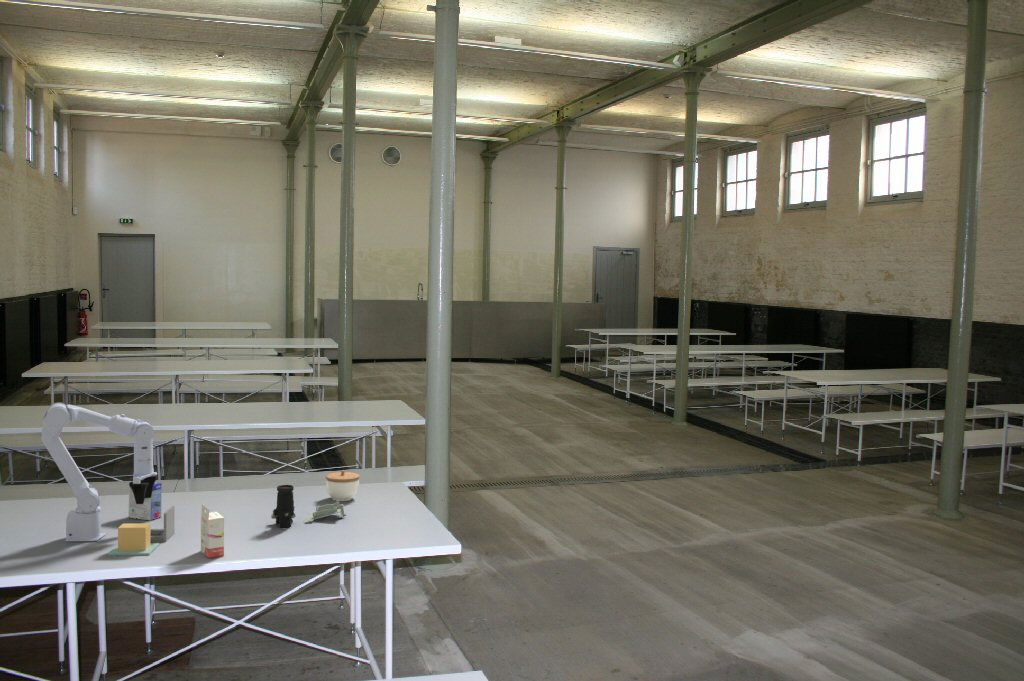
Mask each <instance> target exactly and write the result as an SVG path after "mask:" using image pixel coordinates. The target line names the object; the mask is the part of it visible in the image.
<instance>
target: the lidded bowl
mask: <svg viewBox="0 0 1024 681" xmlns="http://www.w3.org/2000/svg"><path fill="white" fill-rule="evenodd" d="M325 480H326V482H325V483H326V484H325V486H326V490H327V493H328V495H329V496H330V497H331V498H332V500H333V501H335V502H337V501H339V502H348V501H351V500H352V498H354V497H355V496H356V494H357V493H358V491H359V485H360V474H358V473H356V472H351V471H350V472H349V471H345V470H344V469H343V470H341V471H340V472H339V471H338V472H337V471H336V472H332V473H327V475H325Z"/></svg>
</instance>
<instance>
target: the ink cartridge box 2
mask: <svg viewBox="0 0 1024 681" xmlns="http://www.w3.org/2000/svg"><path fill="white" fill-rule="evenodd" d="M200 512H201V513H200V552H201V553H202V554H203V553H204V554H203V555H204V556H205V557H207V558H208V559H211V558H212V559H213V558H219V557H224V556H225V517H224V516H223V515H221V514H220V513H219V512H218V511H212V512H210V509H209V508H208V507H207V506H206V505H205V504H204V503H202V504H201V511H200Z"/></svg>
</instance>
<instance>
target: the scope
mask: <svg viewBox="0 0 1024 681" xmlns="http://www.w3.org/2000/svg"><path fill="white" fill-rule="evenodd" d="M294 489H295V488H294V485H292V484H280V485H277V487H276V491H277V493H276V494H277V495H276V507H275V508H274V509H273V510H272V513H271V516H270V518H271V519H273V520H274V519H275V524H276V525H278V528H279V529H280V528H288V529H290V527H291V528H292V523H294V521H293V519H294V518H296V513H295V508H296V506H295V500H294V492H293V491H294Z"/></svg>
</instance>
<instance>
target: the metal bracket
mask: <svg viewBox="0 0 1024 681" xmlns="http://www.w3.org/2000/svg"><path fill="white" fill-rule="evenodd" d="M344 511H345V510H344V503H341V504H340V501H335V502H334V503H330V504H323V505H319V506H317V507H316V508H315V509H314V510H311V511H309V514H308V516H307V517H306V518H305V521H304V522H303V524H308V523H312V522H314V520H317V519H321V518H325V517H328V516H331V515H336V514H339V513H340V515H341V520H344V518H345V517H346V516H347V513H345V512H344Z"/></svg>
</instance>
